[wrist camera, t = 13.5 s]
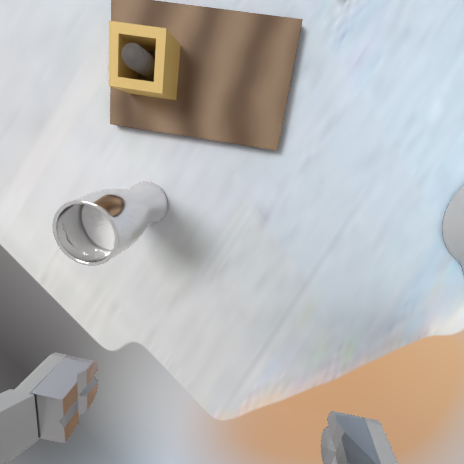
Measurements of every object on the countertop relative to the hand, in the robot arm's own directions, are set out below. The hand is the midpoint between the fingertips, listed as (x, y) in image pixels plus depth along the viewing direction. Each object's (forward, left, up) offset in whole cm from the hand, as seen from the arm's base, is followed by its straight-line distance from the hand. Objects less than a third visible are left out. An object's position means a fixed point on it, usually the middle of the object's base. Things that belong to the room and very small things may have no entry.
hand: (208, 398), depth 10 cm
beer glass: (+15, +2, -31) cm, 35 cm away
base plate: (+9, -15, -31) cm, 36 cm away
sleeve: (+14, -15, -30) cm, 36 cm away
